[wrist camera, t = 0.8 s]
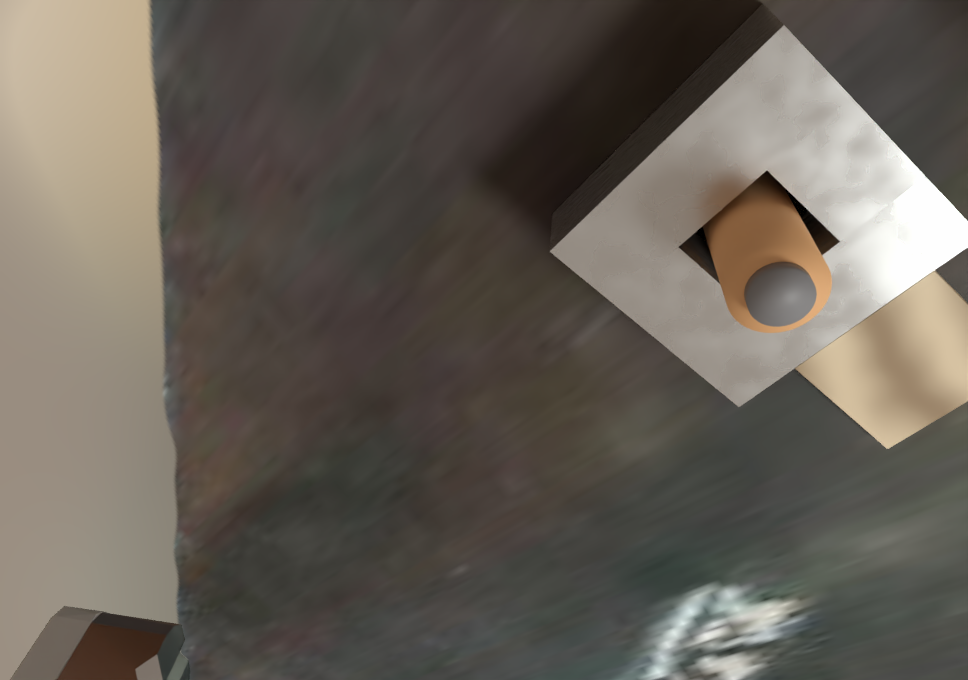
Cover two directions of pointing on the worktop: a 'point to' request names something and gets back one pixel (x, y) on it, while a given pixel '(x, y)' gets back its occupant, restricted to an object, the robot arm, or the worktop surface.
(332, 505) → the worktop surface
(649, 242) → the housing
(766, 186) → the tan grey-topped cylinder
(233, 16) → the worktop surface
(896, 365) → the coaster
